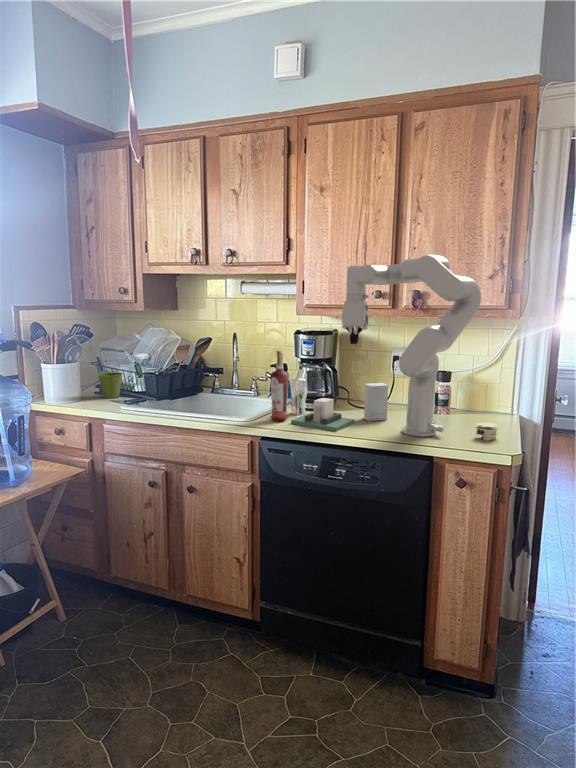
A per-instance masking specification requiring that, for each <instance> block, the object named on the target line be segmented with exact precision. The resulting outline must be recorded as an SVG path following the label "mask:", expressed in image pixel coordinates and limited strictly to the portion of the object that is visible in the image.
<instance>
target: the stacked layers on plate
mask: <svg viewBox="0 0 576 768" xmlns="http://www.w3.org/2000/svg"><path fill="white" fill-rule="evenodd" d="M475 424H476V425H477V426H475V429H476V431H475V432H474V434H475V435H477V436H478V435H479V436H481V438H482V437H483V438H482V440H483V439H484V440H483V441H486V440H490V441H492V440H496V439H497V435H498V433H497V432H498V431H497V430H499V428H498V427H496V426H498V424H497V423H493V422H477V423H475ZM495 438H496V439H495ZM491 439H492V440H491Z"/></svg>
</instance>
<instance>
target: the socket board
mask: <svg viewBox="0 0 576 768" xmlns="http://www.w3.org/2000/svg"><path fill="white" fill-rule="evenodd" d="M313 416H314V412H309V413H307V414H304V415H300V416H299V417H295V418H293V419H291V420H290V425H291V424H292V425H296V426H302V427H306V428H307V427H309V428H314V429H319V430H325V431H331V432H338V430H339V431H340V429H341V430H343V429H345V428H348V427H349V426H351V425H353V424H355V423H356V422H355V421H356V419H354V418H348V417H342V416H343V415H342V413H338V412H333V416H331V417H328V418H322V422H320V423H318V422H314V421H313ZM344 427H345V428H344Z"/></svg>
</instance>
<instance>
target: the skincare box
mask: <svg viewBox="0 0 576 768" xmlns="http://www.w3.org/2000/svg"><path fill="white" fill-rule="evenodd" d="M388 393H389V385H388V384H386V383H384V382H376V383H375V382H374V383H372V382H371V383H365V384H364V406H363V407H364V409H363V410H364V412H363V415H364V416H363V417H364V419H366V420H367V421H368V422H374V421H387V420H388V398H389V397H388V395H389V394H388Z"/></svg>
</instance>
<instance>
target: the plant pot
mask: <svg viewBox="0 0 576 768" xmlns="http://www.w3.org/2000/svg"><path fill="white" fill-rule="evenodd" d="M96 375H97V376H98V380H99V383H100V387H101V393H102V395H103V399H105V398H106V399H115V398H119V397H120V395H121V394H120V392H121V385H122V382H121V381H122V378H123V375H124V373H123V372H119V371H110V372H109V371H108V372H101V373H100V372H99V373H97V374H96Z"/></svg>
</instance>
